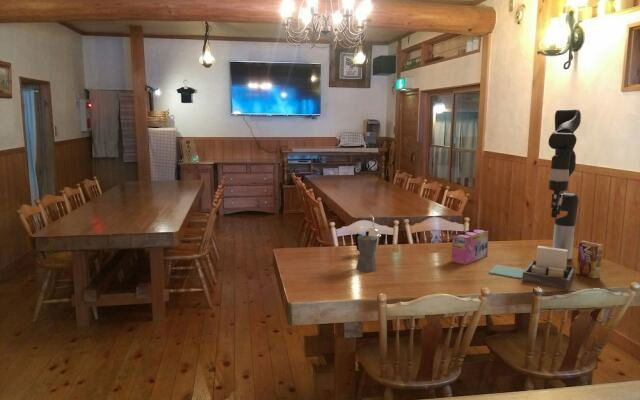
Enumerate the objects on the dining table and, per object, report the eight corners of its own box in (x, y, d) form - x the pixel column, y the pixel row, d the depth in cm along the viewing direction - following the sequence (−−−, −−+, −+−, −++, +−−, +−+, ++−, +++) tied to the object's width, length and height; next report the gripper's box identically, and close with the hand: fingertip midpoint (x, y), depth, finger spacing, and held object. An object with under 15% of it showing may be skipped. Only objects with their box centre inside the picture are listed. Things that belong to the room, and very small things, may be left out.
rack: (530, 270, 227) (531, 259, 227) (573, 277, 218) (574, 266, 217) (522, 281, 212) (523, 270, 211) (568, 289, 202) (569, 277, 201)
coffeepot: (383, 271, 224) (384, 233, 221) (367, 274, 219) (368, 235, 216) (362, 262, 236) (363, 226, 233) (346, 265, 231) (347, 228, 228)
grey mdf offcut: (532, 278, 216) (533, 265, 215) (545, 280, 213) (547, 267, 212) (530, 280, 213) (531, 267, 212) (544, 283, 210) (545, 269, 209)
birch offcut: (548, 281, 212) (550, 265, 211) (563, 283, 209) (564, 267, 208) (547, 283, 209) (548, 267, 208) (561, 286, 206) (563, 270, 205)
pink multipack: (474, 252, 257) (476, 227, 254) (489, 255, 251) (490, 230, 249) (450, 261, 240) (452, 234, 238) (465, 265, 235) (467, 237, 232)
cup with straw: (362, 255, 250) (363, 216, 247) (365, 250, 258) (366, 213, 255) (378, 256, 247) (380, 218, 244) (381, 251, 256) (383, 214, 253)
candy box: (600, 277, 218) (603, 244, 215) (594, 279, 215) (598, 245, 213) (581, 272, 225) (584, 240, 223) (575, 273, 223) (578, 241, 221)
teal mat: (496, 265, 233) (496, 264, 233) (527, 271, 226) (527, 269, 226) (488, 273, 222) (488, 272, 222) (521, 279, 214) (521, 277, 214)
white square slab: (536, 273, 223) (538, 245, 221) (565, 278, 217) (568, 249, 215) (534, 275, 220) (537, 247, 218) (564, 280, 214) (566, 251, 212)
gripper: (551, 177, 219) (548, 212, 222) (546, 180, 207) (543, 217, 210) (570, 178, 215) (567, 214, 218) (566, 181, 203) (562, 219, 206)
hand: (555, 215), depth 214 cm, fingers open, 8 cm apart
